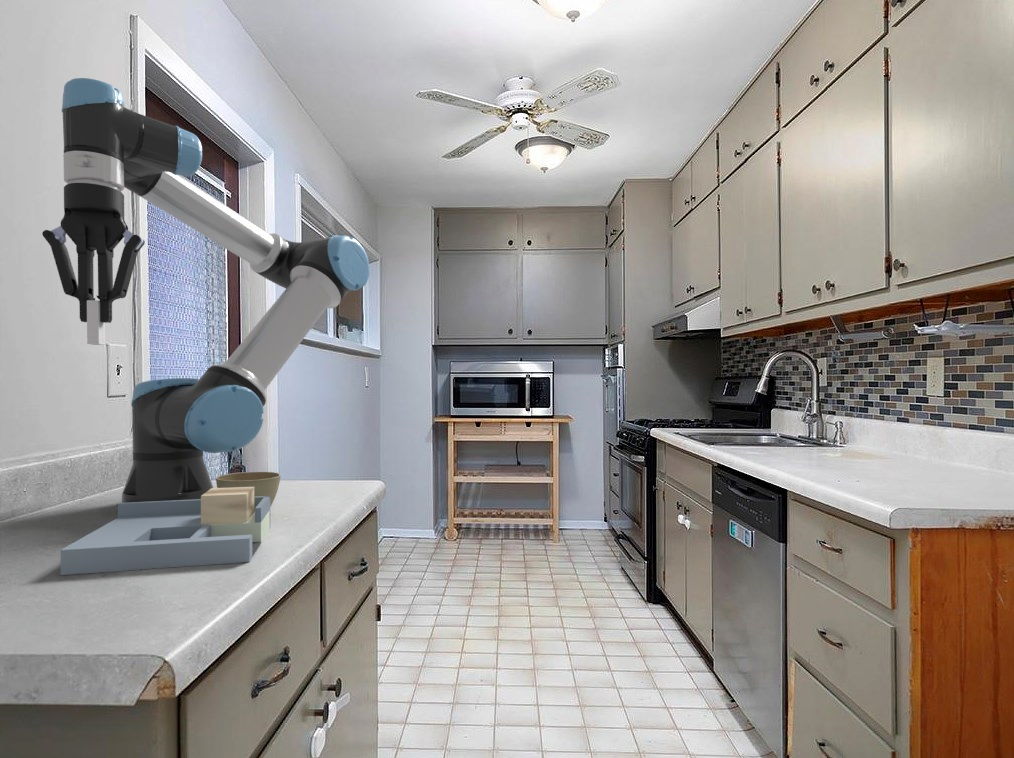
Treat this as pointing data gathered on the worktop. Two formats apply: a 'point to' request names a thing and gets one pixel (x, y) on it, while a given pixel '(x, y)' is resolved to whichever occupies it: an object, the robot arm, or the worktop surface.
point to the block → (227, 505)
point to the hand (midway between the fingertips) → (96, 344)
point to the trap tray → (166, 538)
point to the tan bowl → (252, 482)
